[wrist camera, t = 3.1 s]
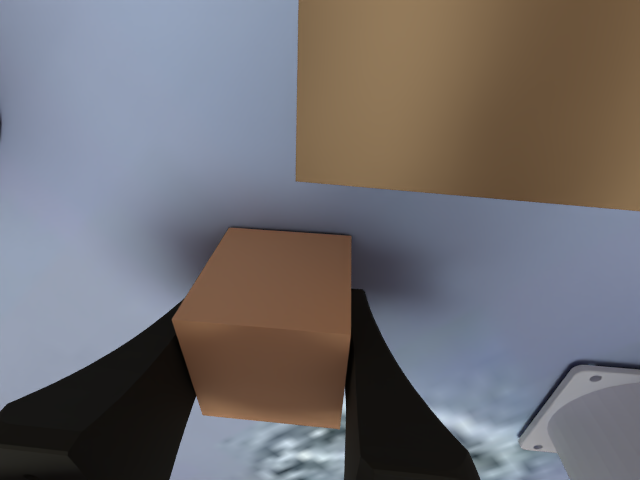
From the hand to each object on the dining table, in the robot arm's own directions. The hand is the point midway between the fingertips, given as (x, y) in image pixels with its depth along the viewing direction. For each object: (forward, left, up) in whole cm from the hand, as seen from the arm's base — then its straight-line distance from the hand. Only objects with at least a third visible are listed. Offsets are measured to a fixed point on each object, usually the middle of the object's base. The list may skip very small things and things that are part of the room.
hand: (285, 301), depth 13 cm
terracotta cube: (0, 0, -1) cm, 1 cm away
